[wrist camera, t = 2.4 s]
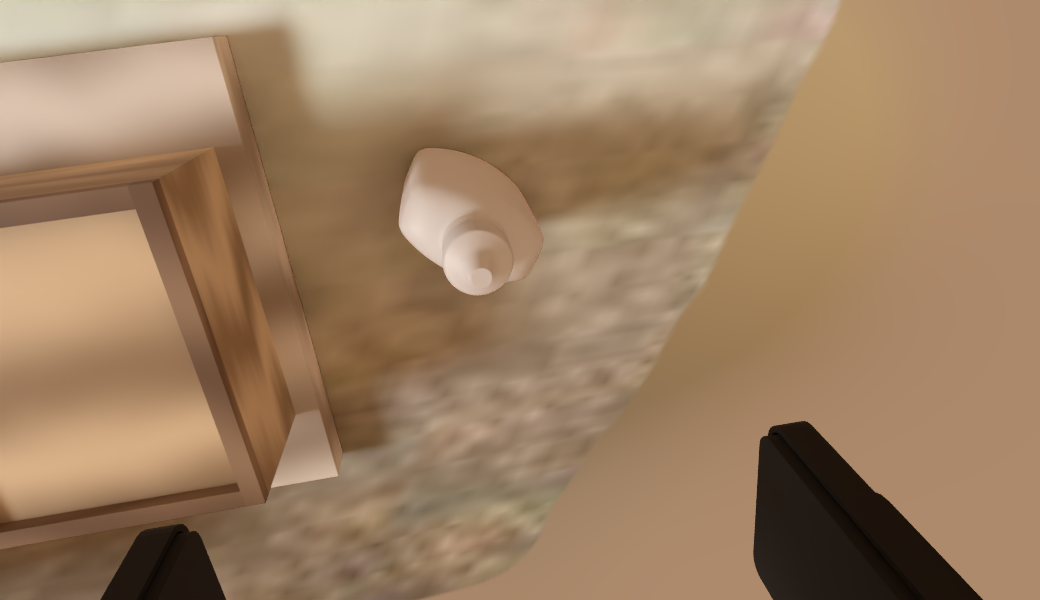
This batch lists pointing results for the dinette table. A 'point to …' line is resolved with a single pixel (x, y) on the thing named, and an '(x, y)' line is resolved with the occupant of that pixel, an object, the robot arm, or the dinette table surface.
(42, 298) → the display plinth
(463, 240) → the eye dropper bottle
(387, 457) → the dinette table surface
